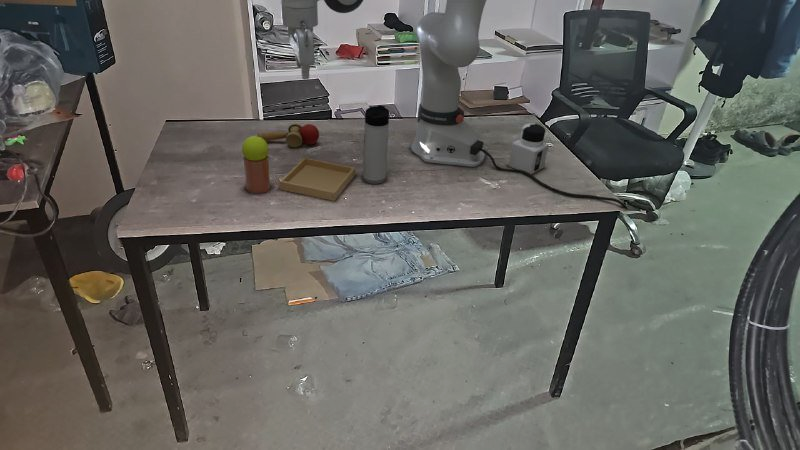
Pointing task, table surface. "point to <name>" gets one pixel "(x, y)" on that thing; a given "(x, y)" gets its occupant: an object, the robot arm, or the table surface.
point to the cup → (257, 175)
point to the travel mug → (375, 144)
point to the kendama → (294, 135)
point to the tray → (318, 179)
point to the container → (529, 149)
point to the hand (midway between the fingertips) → (302, 72)
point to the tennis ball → (255, 148)
